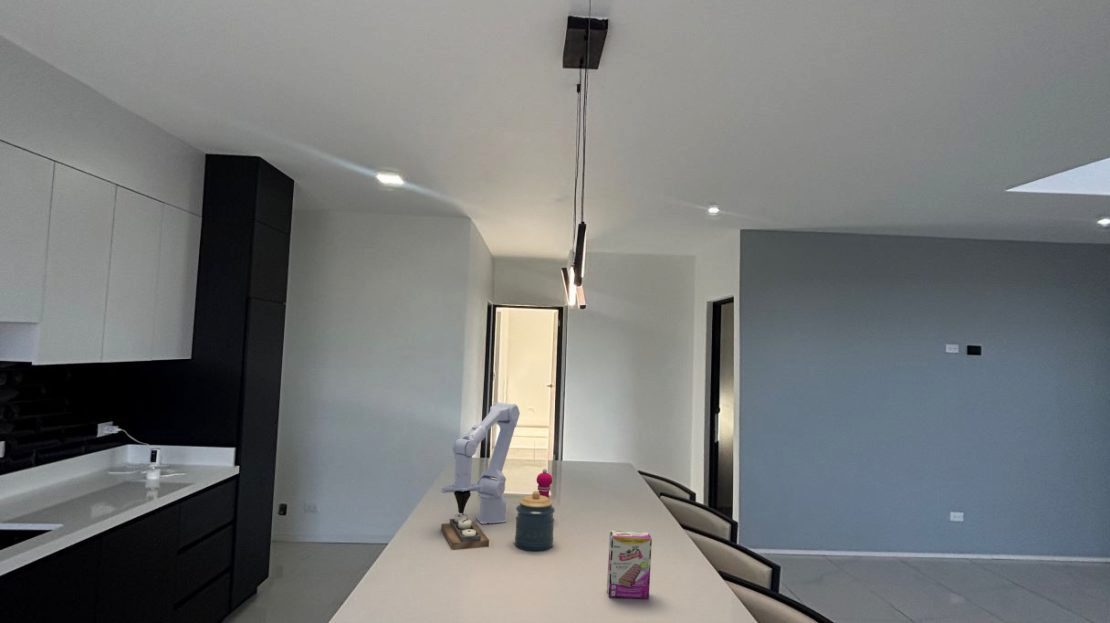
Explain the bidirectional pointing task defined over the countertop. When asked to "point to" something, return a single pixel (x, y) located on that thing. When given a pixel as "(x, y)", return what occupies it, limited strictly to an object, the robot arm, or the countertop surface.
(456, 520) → the button two
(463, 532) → the button one
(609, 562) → the candy bar box
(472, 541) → the button panel
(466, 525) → the button three
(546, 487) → the pepper mill
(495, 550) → the countertop surface
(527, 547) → the canister
